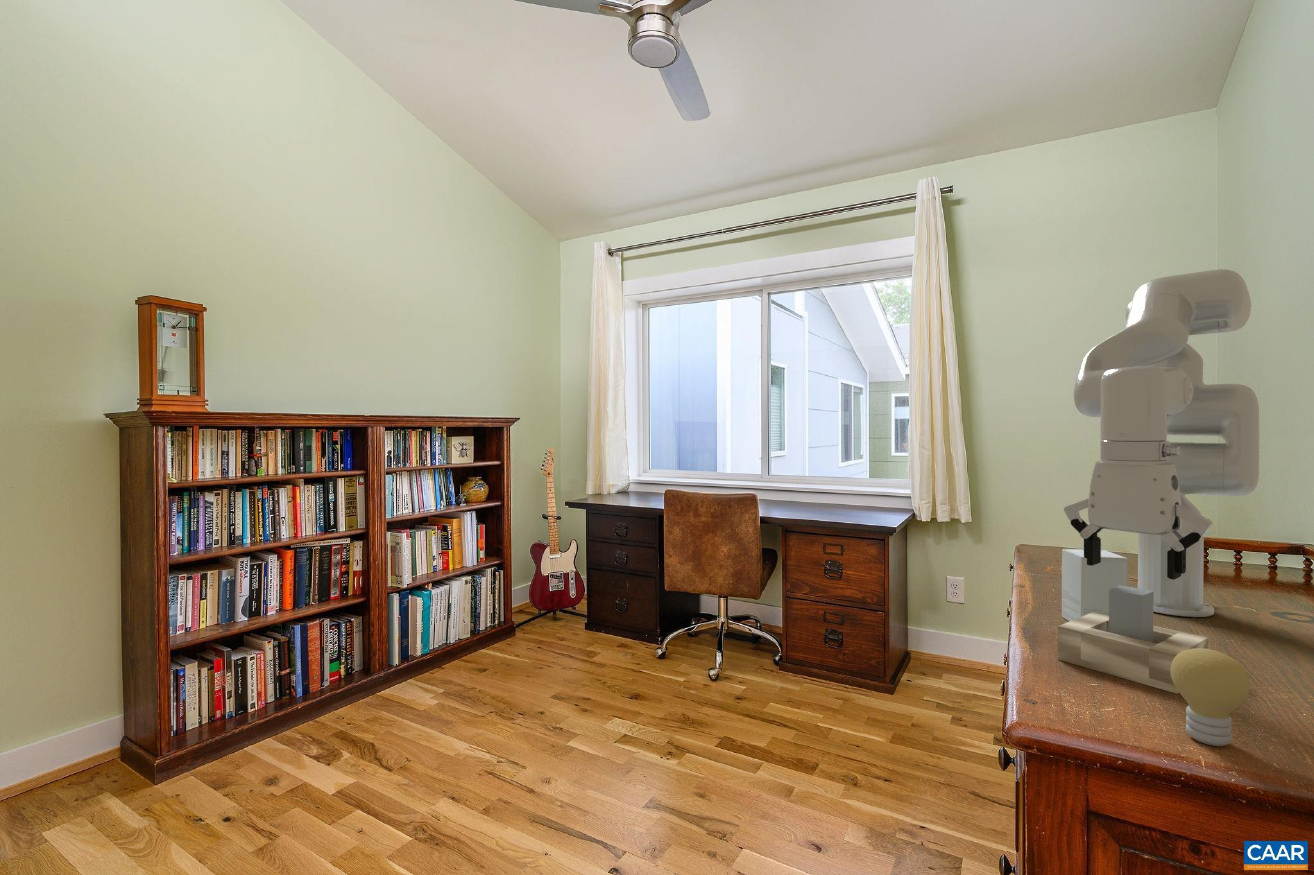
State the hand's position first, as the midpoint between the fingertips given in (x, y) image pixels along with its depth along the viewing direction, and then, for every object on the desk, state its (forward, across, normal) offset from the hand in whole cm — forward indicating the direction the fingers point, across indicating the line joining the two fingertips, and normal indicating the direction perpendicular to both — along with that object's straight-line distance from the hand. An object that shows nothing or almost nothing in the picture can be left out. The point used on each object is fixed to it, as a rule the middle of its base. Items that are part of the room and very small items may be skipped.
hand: (1132, 570), depth 87 cm
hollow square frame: (+14, 0, +1) cm, 14 cm away
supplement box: (+14, +11, -16) cm, 24 cm away
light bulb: (+13, -13, +19) cm, 27 cm away
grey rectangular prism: (+13, 0, +1) cm, 13 cm away
